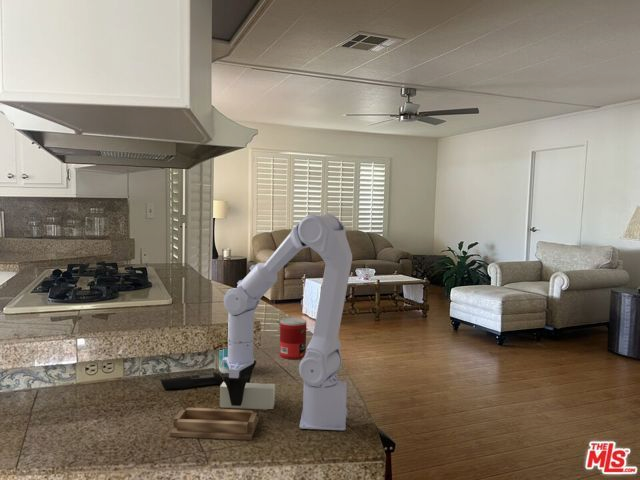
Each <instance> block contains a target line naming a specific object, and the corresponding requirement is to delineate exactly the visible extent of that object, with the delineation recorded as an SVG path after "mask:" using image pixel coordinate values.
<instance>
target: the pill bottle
mask: <svg viewBox="0 0 640 480" xmlns="http://www.w3.org/2000/svg"><path fill="white" fill-rule="evenodd" d="M218 355H219V357H218V371H219V373H220V374H224V373H229V367H228V364H227V363H224V362H222V359H223V358H224V357H228V349H223V350H219V349H218Z"/></svg>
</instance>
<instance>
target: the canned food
mask: <svg viewBox="0 0 640 480" xmlns="http://www.w3.org/2000/svg"><path fill="white" fill-rule="evenodd" d="M306 345H307V320H306V319H304V318H300V317H284V318H282V319H280V323H279V356H280V357H281V358H283V359H286V360H302V359H303V358H304V356H305V354H306V349H307V346H306Z"/></svg>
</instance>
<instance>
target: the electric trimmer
mask: <svg viewBox="0 0 640 480" xmlns="http://www.w3.org/2000/svg"><path fill="white" fill-rule="evenodd" d="M159 381H160V383H161V385H162V387H163V389H167V390H168V389H169V390H171V389H176V390H177V389H190V388H192V387H198V386H199V387H202V386H209V385H220V386H221V384H222V383H223V382H224V381H223V376H222V375H221V372H215V371H213V373H210V374H209V373H208V374H196V375H185V376H179V377H172V378H171V377H168V378H163V379H160V380H159Z"/></svg>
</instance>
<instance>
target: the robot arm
mask: <svg viewBox="0 0 640 480" xmlns="http://www.w3.org/2000/svg"><path fill="white" fill-rule="evenodd" d="M346 230H347V229H346V226H345V225H344V224H343V223H342V221H341V220H340V219H339V218H338V217H336V216H335V215H332V214H327V213H326V214H322V215H320V214H319V215H318V214H308V215H306V216H304V217H303V218H302V219H301V220H300V222H299V223H297V224H296V225H294V226H293V228H291V231H290V233H289V234H288V235H287V236H286V237H285V238H284V240H283V241H282V242H281V243H280V244H279V246H278V247H277V248H276V250H274V252H273V253H272V254H271V255H270V257H269V258H268V259H267V261H265V262H258V263H257V264H252V265H251V266H250V267H249V270H250V272H248V273H247V275H245V277H244V278H243V279H240V280H238V282H236V284H237V286H236V287H234V288H233V287H231V288H230V289H228V290H226V293H225V294H224V296H223V307H224V309H225V311H226V312H227V313H228V314H227V316H228V317H227V322H228V357H224V358H223V359H222V362H224V363H227V364H228V367H229V373H224V374H223V373H222V374H223V375H222V379H223V381H224V382H225V384H226V386H227V389H228V392H229V397H230V401H231V405H232V406H241V404H242V400H243V394H244V389H245V385H246V383H251V378H252V374H253V371H254V369H255V366H256V364H257V360H255V358H254V334H255V333H254V332H255V330H254V328H255V326H254V323H255V320H254V319H255V311H256V309H257V308H258V306H259V303H260V300H261V298H262V297H264V296H265V294H266V293H267V292H268V291H269V290H270V289H271V288H272V286H274V285H275V284H276V283H277V281H278V272H280V271H281V270H282V269H283V268H284V267H285V266H286V265H287V264H288V263H289V262H290V261H291V260H292V259H293V258H294V257H295V256H296V255H297V254H298V253H299V252H300V251H302V250H303V249H306V248H310V249H312V250H313V251H314V252H316V253H317V254H318V255H319V256H320V258H321V259H322V260H323V261H324V264H325V265H324V271H323V276H322V277H323V278H322V283H321V287H320V289H321V290H320V293H319V294H320V295H319V301H318V307H317V310H316V317H315V323H314V328H313V334H312V337H311V339H310V340H309V343H308V344H307V346H306V354H305V356H304V358H302V359H300V362H299V365H298V373H299V376H300V378H301V379H302V381H303V386H302V392H303V393H302V394H303V395H302V411H301V417H300V421H299V429H302V430H303V429H305V430H326V431H327V430H329V431H346V429H347V428H346V424H347V423H346V422H347V418H348V408H347V395H348V394H347V392H348V391H347V390H348V389H347V382H346V381H341V380H339V379H338V373H337V372H338V371H339V370H340V369H341V367H342V364H343V358H342V357H343V356H342V354H341V345H342V343H341V341H340V339H339V335H340V328H341V324H342V323H341V322H342V317H343V311H344V307H345V301H346V295H347V290H348V283H349V281H350V280H349V279H350V274H351V267H352V263H353V253H352V250H351V248H350V244H349V241H348V239H347V238H348V237H347V235H346Z"/></svg>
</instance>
